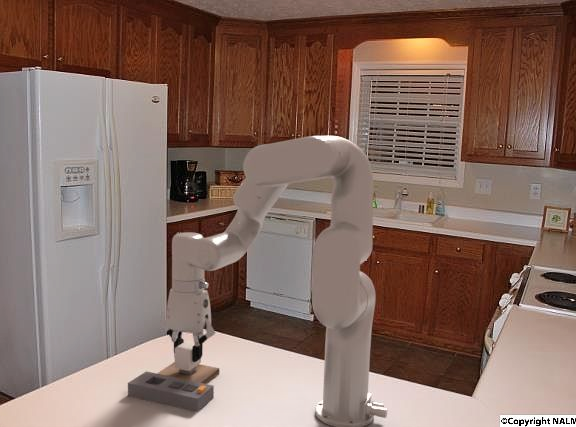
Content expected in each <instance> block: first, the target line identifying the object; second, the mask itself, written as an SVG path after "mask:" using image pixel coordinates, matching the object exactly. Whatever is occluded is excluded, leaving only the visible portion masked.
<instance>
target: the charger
mask: <svg viewBox="0 0 576 427" xmlns="http://www.w3.org/2000/svg"><path fill="white" fill-rule="evenodd" d="M194 345H195V343H194V341H191V340H186V341H185V340H184V343H182V344H181V345H179V346H177V347H176V348H175V358H174V362H175V368H177V369H179V372H180V373H184V374H189V375H190V374H192V373H193V372H194V371H196V366H197V365H198V364H200V365H201V363H202V361H201V360H202V358H201V359H199V360H198V361H196V362H193V361H192V350H193V346H194Z"/></svg>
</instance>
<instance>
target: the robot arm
mask: <svg viewBox="0 0 576 427" xmlns="http://www.w3.org/2000/svg"><path fill="white" fill-rule="evenodd" d="M242 164H243V165H242V167H243V169H242V170H243V173H244V174H243V175H244V176H245V178H244V180H243V181H242V182H241V184H240V185H239V186H238V188H237V189H236V191H235V192H234V193H233V195H232V200H233V203H234V206H235V207H236V208H237V211H236V213H235V215H234V217H233V218H232V220H231V222H230V223H229V225H228V226H227V227H226V229H225V231H224V230H223V231H224V232H222V233H218V234H214V235H211V236H207V237H204V236H203V234H201V233H197V232H179V233H176V234H174V236H173V237H172V242H171V255H172V256H171V261H172V262H171V288H170V290H169V293H168V298H167V305H166V306H167V307H166V318H165V320H164V321H163V322H162V323H161V328H162V329H163V330H164V331H165V332H166V333H167V334H168V336H169V338H171V342H172V343H173V354H174V359H175V348H176V347H177V346H179V345H181V344H182V343H184V342H185V340H184V338H183V333H187V334H192V337H193V342H194V343H195V345H194V346H193V350H192V361H193V362H196V361H198V360H199V359H201V360H202V357H203V348H204V347H203V345H204V343H205V342H206V341H207V340H209V339H210V338H211V337H213V336H214V335H216V331H215V329H214V328H213V326H212V312H211V302H210V296H209V292H208V290H207V289H208V288H209V282H206V279H205V271H209V272H210V271H211V272H212V271H216V270H218V269H222V268H224V267H226V266H228V265H232V264H233V263H237V262H238V261H239V260H240V259H241V258H242V257H244V255H245V254H246V253H247V252H248V250H249V248H251V246H252V245H253V244H254V243H255V241H256V240H257V237H258V236H259V234H260V233H261V230H262V228H263V225H264V222H265V218H266V216H267V214H268V213H269V212H270V210H271V209H272V208H273V207H274V205H275V203H277V200H279V199H280V196H282V194H283V193H284V191H285V190H286V189H287V187H288V186H289V185H290V184H294V183H301V182H309V181H316V180H322V179H328V178H332V181H333V188H332V194H331V200H330V203H331V204H330V206H331V208H330V209H331V211H330V212H331V213H330V225H329V226H328V227H326V228H325V229H323V230H322V231H321V232H320V233H319V234H318V236H317V237H316V240H315V242H314V245H313V250H312V261H311V262H312V264H311V265H312V266H311V267H312V268H311V269H312V270H311V304H312V310H313V312H314V315H315V317H316V318H317V320H318V322H319V323H321V324H322V326H325V327H326V329H325V345H324V366H323V367H324V368H323V388H322V389H323V392H322V398H323V399H322V400H319V401H318V403H317V404H316V405H315V416H316V417H317V419H319V421H321V423H323V424H326V425H328V426H331V427H366V426H368V425H369V424H371V423H372V422H373V421H374V418H375V417H379V418H382V419H383V418H384V419H386V418H387V416H388V408H385V404H384V403H382V402H377V401H376V402H375V401H374V400H373V399H372V393H369V378H370V360H371V359H370V358H371V345H372V344H371V343H372V328H373V321H374V320H373V319H374V315H375V307H376V289H375V285H374V284H373V281H372V280H371V278H370V277H369V276H368V275H367V274H366V273H365V272H363V271H361V265H362V264H363V263H364V262H365V261H367V260H368V258H369V257H370V255H371V254H372V251H373V245H374V244H373V240H374V239H373V231H374V230H373V229H374V228H373V226H374V225H373V224H374V222H373V221H374V220H373V219H374V209H373V208H374V206H373V205H374V201H373V200H374V174H373V168H372V165H371V162H370V159H369V157H368V156H367V155H366V153H365V152H364V150H362V148H361V147H360V146H358V145H357V144H355V142H353V141H351V140H349V139H346V138H344V137H341V136H336V135H311V136H310V135H309V136H303V137H298V138H294V139H288V140H283V141H277V142H272V143H264V144H259V145H257V146H255V147H254V146H253V148H252V149H251V150H250V151H249V152H248V153H247V154H246V156H245V158H244V161H243V163H242ZM204 330H205V332H206V333H205V334H204Z"/></svg>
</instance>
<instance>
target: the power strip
mask: <svg viewBox="0 0 576 427" xmlns="http://www.w3.org/2000/svg"><path fill="white" fill-rule="evenodd" d="M157 373H158V372H150V371H148V370H147V371H145V372H143V373H141V374H140V375H138V376H136V377H134V378H133V379H131V380H130V381H129V382H127V396H128V397H132V398H137V399H140V400H145V401H150V402H154V403H158V404H163V405H167V406H170V407H176V408H178V409H183V410H189V411H193V412H196V413H198V412H199V411H200V410H202V409H203V408H204V407H205V406H207V405H208V404H209V403H210V402H211V401H212V400H213V399H214V394H215V392H214V389H215V387H214V386H215V385H212V384H209V383H207V384H204V383H199V382H194V381H190V380H185V379H180V378H175V377H171V376H166V375H161V374H157Z"/></svg>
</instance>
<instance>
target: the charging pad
mask: <svg viewBox="0 0 576 427" xmlns="http://www.w3.org/2000/svg"><path fill="white" fill-rule="evenodd" d="M156 373H157V374H161V375H166V376H171V377H175V378H180V379H185V380H190V381H194V382H199V383H204V384H209V383H210V382H212V380H214V379H215V378H216V377H217V376H219V375H220V367H215V366H210V365H207V364H206V365H205V364H201V363H200V364H198V365H197V366H196V371H194V372H193V373H192V374H190V375H189V374H184V373H180V372H179V369H177V368H175V361H173V363H171V364H169V365H168V366H166V367H164V368H163V369H162V370H160V371H159V372H156Z"/></svg>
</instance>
